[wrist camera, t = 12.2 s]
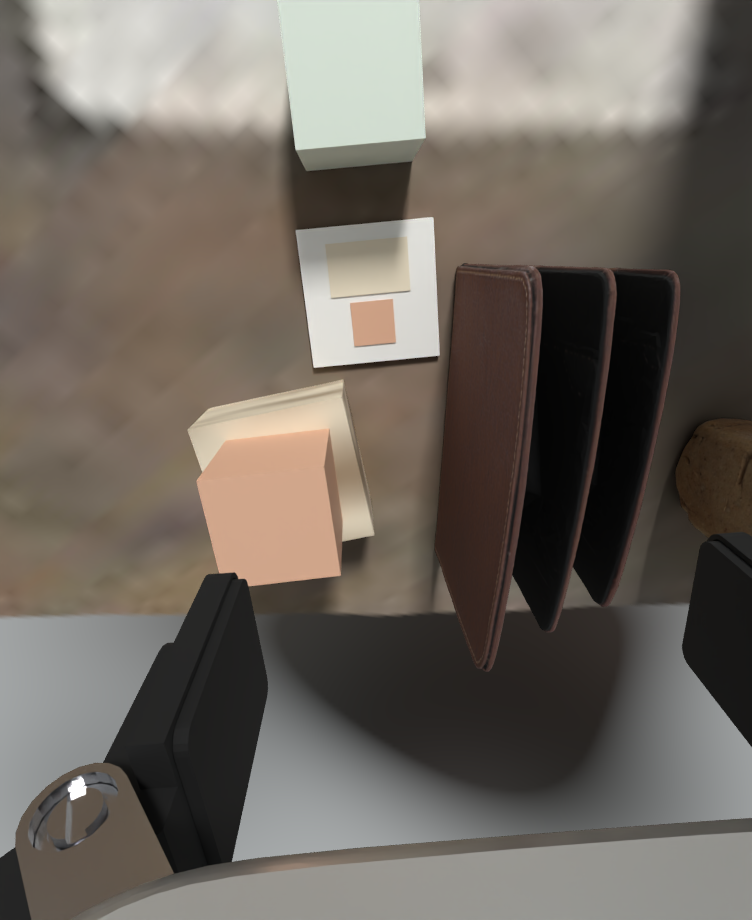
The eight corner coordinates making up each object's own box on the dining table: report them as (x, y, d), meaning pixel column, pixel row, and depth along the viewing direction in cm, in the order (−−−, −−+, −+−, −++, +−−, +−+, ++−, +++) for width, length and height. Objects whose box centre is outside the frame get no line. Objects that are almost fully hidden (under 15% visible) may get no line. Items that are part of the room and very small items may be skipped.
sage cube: (291, 43, 28) (275, -14, 22) (404, 32, 28) (417, -27, 22) (306, 171, 30) (295, 150, 24) (411, 161, 30) (425, 138, 24)
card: (296, 230, 31) (295, 230, 30) (432, 217, 31) (433, 217, 30) (314, 366, 33) (313, 368, 33) (438, 354, 34) (439, 355, 33)
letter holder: (433, 548, 39) (475, 696, 26) (455, 262, 32) (527, 262, 19) (565, 549, 39) (673, 694, 26) (615, 267, 32) (796, 271, 19)
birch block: (210, 407, 34) (187, 429, 30) (343, 378, 34) (342, 397, 29) (249, 526, 38) (234, 563, 33) (371, 501, 37) (374, 535, 33)
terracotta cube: (225, 440, 30) (196, 480, 24) (329, 428, 30) (324, 466, 24) (245, 532, 32) (223, 589, 27) (342, 521, 32) (340, 575, 27)
